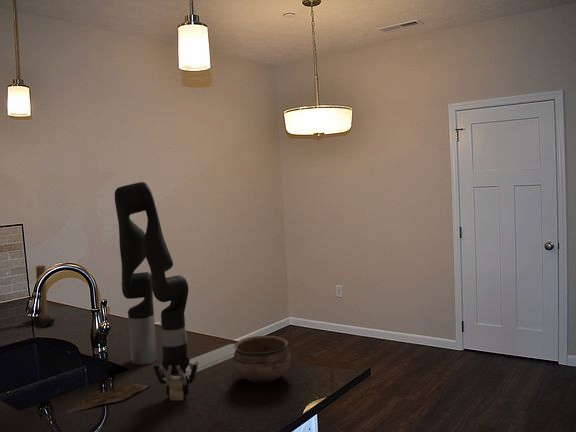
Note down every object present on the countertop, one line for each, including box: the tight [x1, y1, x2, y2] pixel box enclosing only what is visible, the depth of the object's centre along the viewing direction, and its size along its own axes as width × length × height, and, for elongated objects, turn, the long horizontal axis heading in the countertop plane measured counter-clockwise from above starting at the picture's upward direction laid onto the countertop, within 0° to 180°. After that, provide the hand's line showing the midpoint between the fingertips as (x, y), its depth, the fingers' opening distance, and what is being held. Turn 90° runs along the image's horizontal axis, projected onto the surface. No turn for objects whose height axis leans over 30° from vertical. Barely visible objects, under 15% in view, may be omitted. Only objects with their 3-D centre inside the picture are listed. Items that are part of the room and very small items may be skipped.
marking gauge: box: [169, 375, 190, 401], centre depth 164 cm, size 12×4×6 cm, turn 176°
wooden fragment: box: [67, 383, 151, 414], centre depth 163 cm, size 26×11×1 cm, turn 127°
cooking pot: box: [232, 335, 292, 385], centre depth 171 cm, size 25×19×12 cm
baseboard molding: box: [186, 343, 236, 378], centre depth 192 cm, size 31×3×12 cm
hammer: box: [32, 265, 56, 328], centre depth 253 cm, size 20×5×30 cm, turn 42°
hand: (178, 395), depth 161 cm, fingers closed on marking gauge, 4 cm apart
